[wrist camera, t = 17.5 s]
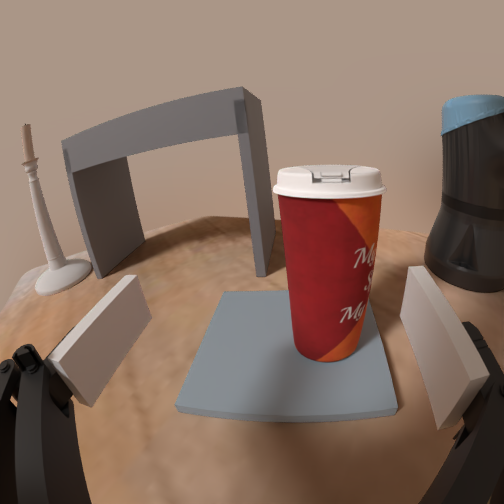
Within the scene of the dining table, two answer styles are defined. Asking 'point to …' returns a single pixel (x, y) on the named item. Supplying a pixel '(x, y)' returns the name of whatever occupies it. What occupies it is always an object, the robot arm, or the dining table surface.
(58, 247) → the candlestick
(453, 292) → the dining table surface
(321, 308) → the paper cup
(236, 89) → the shelf riser
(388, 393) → the mat
